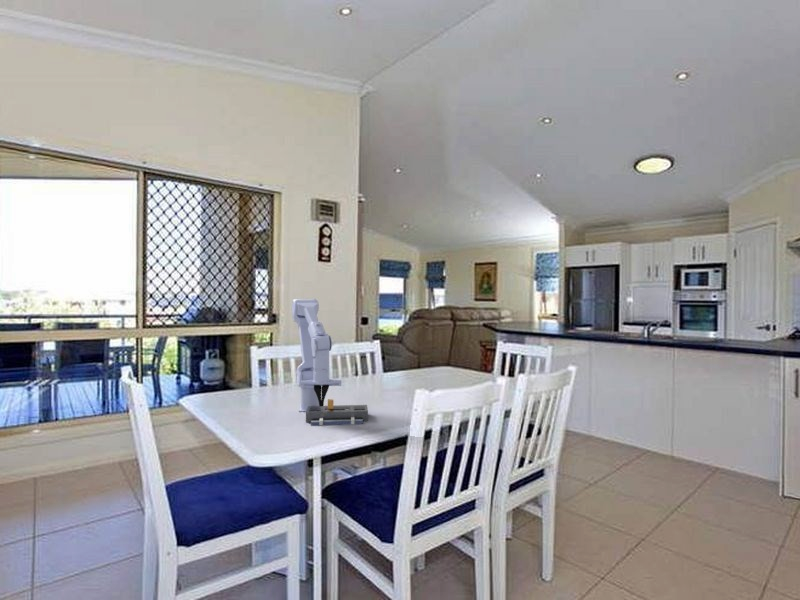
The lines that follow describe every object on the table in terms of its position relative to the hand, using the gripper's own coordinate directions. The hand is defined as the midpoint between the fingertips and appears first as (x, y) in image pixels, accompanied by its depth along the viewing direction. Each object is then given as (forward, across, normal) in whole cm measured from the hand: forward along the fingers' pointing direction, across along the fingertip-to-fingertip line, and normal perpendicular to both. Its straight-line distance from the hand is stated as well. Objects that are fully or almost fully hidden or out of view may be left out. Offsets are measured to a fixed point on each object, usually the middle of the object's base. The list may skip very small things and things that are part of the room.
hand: (321, 405), depth 172 cm
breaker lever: (+1, +3, 0) cm, 3 cm away
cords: (+5, +6, -6) cm, 10 cm away
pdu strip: (+5, +6, 0) cm, 7 cm away
